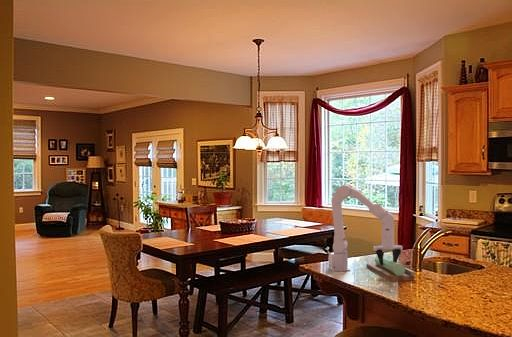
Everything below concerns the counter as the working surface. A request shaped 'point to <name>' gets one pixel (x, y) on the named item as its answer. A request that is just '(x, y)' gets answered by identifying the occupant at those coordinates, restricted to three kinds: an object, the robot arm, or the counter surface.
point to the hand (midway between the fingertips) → (388, 264)
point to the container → (391, 266)
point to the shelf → (391, 273)
